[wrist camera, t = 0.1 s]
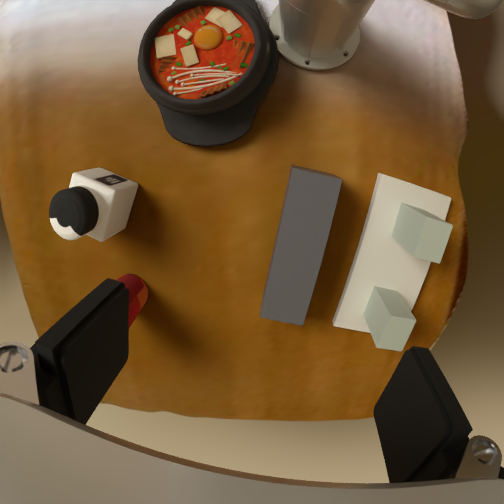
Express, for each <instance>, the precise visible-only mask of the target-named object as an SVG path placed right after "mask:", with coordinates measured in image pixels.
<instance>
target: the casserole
mask: <svg viewBox="0 0 504 504" xmlns="http://www.w3.org/2000/svg"><path fill="white" fill-rule="evenodd" d="M278 59H279V56H278V47H277V43H276V40H275V37H274V35H273V33H272V31H271V30H270V28H269V27H268V25H267V24H266V22H265V21H264V19H263V18H262V16H261V15H260V12H259V9H258V7H257V4H256V2H255V0H176V1H174V2H173V4H172V5H171V6H169V7H167V8H166V9H165V10H163V11H162V12H161V13H160V14H159V15H157V17H156V18H155V19H154V20H153V21H152V22H151V23H150V25H149V27H148V28H147V30H146V32H145V33H144V36H143V38H142V41H141V44H140V49H139V55H138V71H139V74H140V78H141V81H142V83H143V85H144V87H145V89H146V91H147V92H148V93H149V94H150V96H151V97H152V98H153V99H154V100H155V101H156V103H157V104H158V106H159V108H160V111H161V114H162V118H163V121H164V124H165V127H166V130H167V132H168V133H169V134H170V135H171V136H172V137H173V138H174V139H176V140H178V141H180V142H182V143H185V144H189V145H193V146H202V147H211V146H220V145H224V144H227V143H230V142H233V141H235V140H237V139H239V138H241V137H243V136H244V135H245V134H246V133H247V132H248V131H249V129H250V128H251V126H252V123H253V120H254V117H255V115H256V112H257V109H258V106H259V104H260V102H261V101H262V99H263V97H264V96H265V94H266V92H267V91H268V89H269V88H270V86H271V84H272V83H273V80H274V77H275V75H276V72H277V67H278Z"/></svg>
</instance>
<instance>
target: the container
mask: <svg viewBox="0 0 504 504" xmlns="http://www.w3.org/2000/svg"><path fill="white" fill-rule="evenodd" d="M137 189H138V183H136V182H133V181H131V180H129V179H126V178H124V177H121V176H119V175H117V174H114V173H112V172H110V171H107V170H105V169H103V168H95V169H90V170H85V171H80V172H75V173H73V174H72V178H71V182H70V186H69V188H68V189H64V190H61V191H59V192H57V193H56V194H55V195H54V197H53V198H52V200H51V203H50V208H49V217H50V222H51V224H52V227H53V228H54V230H55V231H56V232H57V234H58V235H60V236H61V237H62V238H64V239H66V240H76V239H78V238H80V237H82V236H84V235H88V236H90V237H92V238H94V239H96V240H98V241H100V242H103V241H105V240H107V239H108V238H110V237H112V236H113V235H115V234H117V233H118V232H120V231H122V230H123V229H125V228H126V225H127V221H128V218H129V215H130V211H131V208H132V205H133V201H134V198H135V195H136V192H137Z"/></svg>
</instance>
